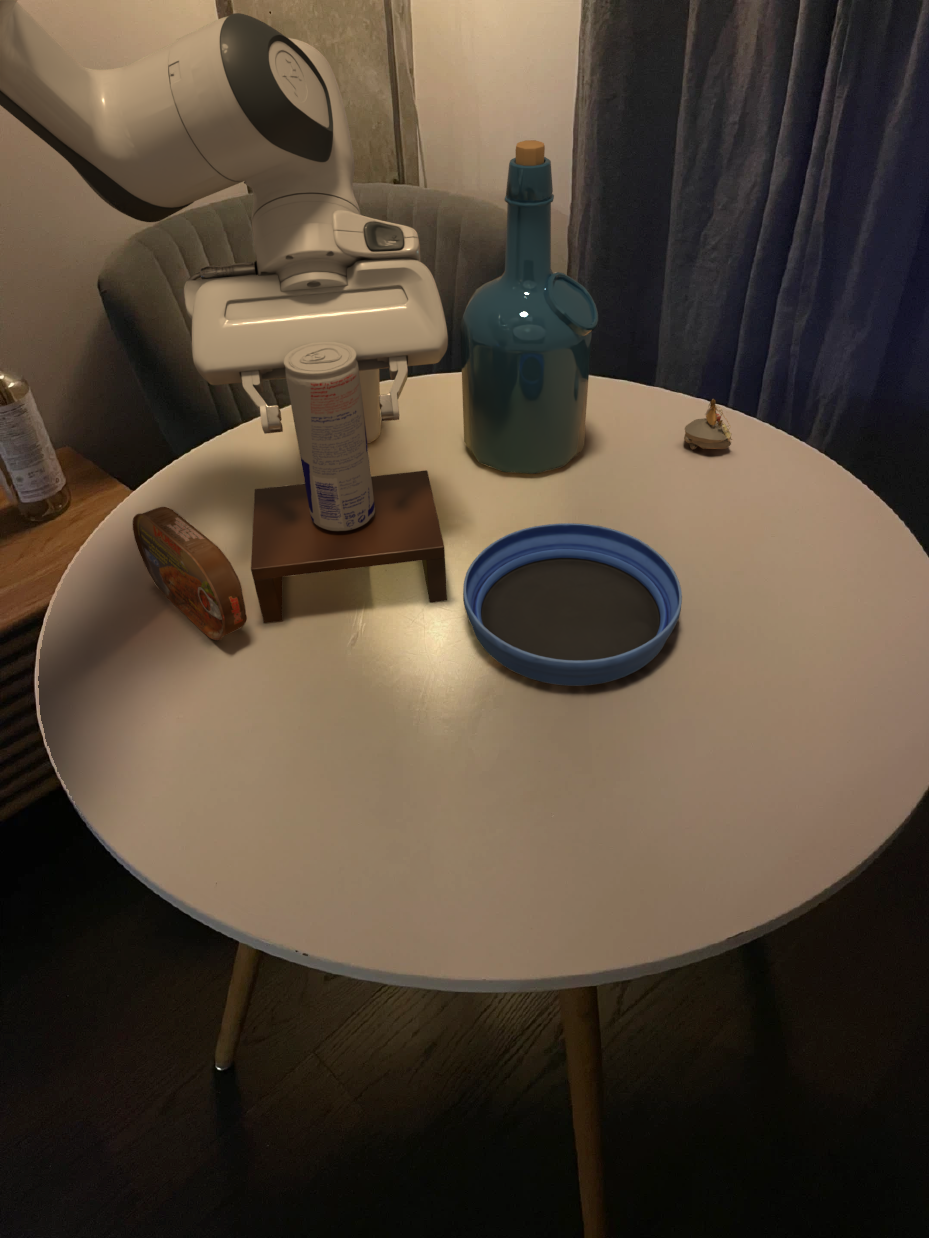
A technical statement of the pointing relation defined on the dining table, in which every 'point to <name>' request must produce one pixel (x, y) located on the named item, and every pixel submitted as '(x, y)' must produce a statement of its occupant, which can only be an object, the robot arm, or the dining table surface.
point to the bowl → (571, 603)
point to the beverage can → (331, 434)
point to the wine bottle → (527, 340)
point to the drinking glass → (371, 402)
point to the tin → (190, 571)
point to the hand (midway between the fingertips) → (332, 425)
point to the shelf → (345, 537)
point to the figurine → (708, 431)
